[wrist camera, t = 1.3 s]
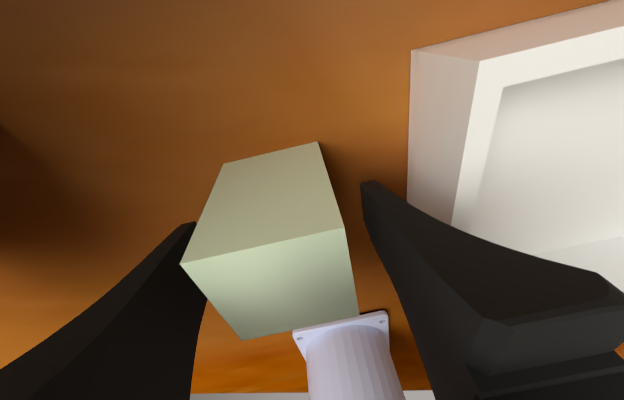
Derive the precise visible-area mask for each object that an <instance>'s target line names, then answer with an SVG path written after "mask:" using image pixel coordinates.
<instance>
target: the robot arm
mask: <svg viewBox="0 0 624 400" xmlns="http://www.w3.org/2000/svg"><path fill="white" fill-rule="evenodd" d="M360 189H361V199H362V208H363V218H364V222H365V225H366V228H367V230H368V233H369V236H370V239H371V241H372V243H373V245H374V247H375V249H376V251H377V253H378V255H379V257H380V259H381V261H382V263H383V265H384V267H385V269H386V271H387V273H388V275H389V277H390V279H391V281H392V283H393V285H394V287H395V290H396V292H397V294H398V297H399V299H400V302H401V305H402V307H403V310H404V312H405V315H406V318H407V320H408V323H409V326H410V328H411V331H412V334H413V336H414V339H415V342H416V345H417V347H418V350H419V353H420V356H421V359H422V361H423V364H424V367H425V370H426V373H427V376H428V379H429V382H430V384H431V387H432V390H433V393H434V396H435V399H436V400H624V360H623V359H622V358H621V357H620V356H619V355H618V354H617V353H616V352H615V351H614V349H616V348H617V347H618V346H619V345H621V344H622V343H623V342H624V293H623V292H622V291H621V290H619V289H618V288H617V287H616V286H614V285H613V284H612V283H610V282H609V281H608V280H606V279H605V278H604V277H602V276H601V275H600V274H598V273H597V272H593V271H589V270H585V269H581V268H577V267H574V266H570V265H566V264H562V263H558V262H554V261H550V260H546V259H543V258H539V257H536V256H532V255H529V254H526V253H523V252H519V251H516V250H513V249H510V248H507V247H504V246H501V245H498V244H495V243H492V242H490V241H487V240H484V239H482V238H479V237H476V236H474V235H471V234H469V233H466V232H464V231H461V230H459V229H457V228H455V227H453V226H450V225H448V224H446V223H444V222H442V221H440V220H438V219H436V218H434V217H432V216H430V215H428V214H426V213H425V212H423V211H421V210H419V209H417V208H416V207H414V206H412V205H411V204H409V203H408V202H406V201H404V200H403V199H401V198H400V197H398V196H397V195H395V194H394V193H392V192H391V191H390V190H388V189H387V188H385V187H384V186H383V185H381V184H380V183H378V182H377V181H375V180H371V181H367V182H362V183H360ZM196 225H197V223H196V222H195V221H194V222H190V223H185V224H181V225H180V226H179V227H178V228H176V229H175V230H174V231H173V232H172V233H171V234H170V235H169V236H168V237H167V238H166V239H165V240H164V241H162V242H161V243H160V244H159V245H158V246H157V247H156V248H155V249H154V250H153V251H152V252H151V253H150V254H149V255H148V256H147V257H146V258H145V259H144V260H143V261H142V262H141V263H140V264H139V265H138V266H136V267H135V268H134V269H133V270H132V271H131V272H130V273H129V274H128V275H127V276H126V277H124V278H123V279H122V280H121V281H120V282H119V283H118V284H117V285H116V286H114V287H113V288H112V289H111V290H110V291H109V292H107V293H106V294H105V295H104V296H103V297H101V298H100V299H99V300H98V301H96V302H95V303H94V304H93V305H91V306H90V307H89V308H88V309H86V310H85V311H84V312H83V313H81V314H80V315H79V316H77V317H76V318H74V319H73V320H72V321H70V322H69V323H68V324H66V325H65V326H63V327H62V328H61V329H59V330H58V331H57V332H55V333H54V334H52V335H51V336H50V337H48V338H47V339H46V340H44V341H43V342H41V343H40V344H38V345H37V346H35V347H34V348H32V349H31V350H29V351H28V352H26V353H25V354H23V355H22V356H20V357H19V358H17V359H16V360H14V361H13V362H11V363H9V364H8V365H6V366H5V367H3V368H2V369H0V400H190V390H191V381H192V373H193V365H194V358H195V352H196V345H197V339H198V334H199V329H200V325H201V321H202V317H203V313H204V310H205V306H206V302H207V297H206V296H205V295H204V294H203V292H202V291H201V290H200V289H199V287H198V286H197V285H196V284H195V282H194V281H193V280H192V279H191V278H190V276H189V275H188V274H187V273H186V271H185V270H184V269H183V268H182V266H181V265H180V262H181V260H182V257H183V255H184V253H185V251H186V248H187V246H188V244H189V241H190V239H191V237H192V235H193V232H194V230H195V228H196ZM292 336H293V338H294V340H295V342H296V344H297V346H298V348H299V350H300V351H301V353H302V355H303V357H304V359H305V361H306V363H307V377H308V390H309V400H406V399H405V396H404V394H403V390H402V387H401V384H400V381H399V378H398V375H397V372H396V370H395V367H394V364H393V361H392V358H391V355H390V348H389V324H388V315H387V312H386V311H377V312H372V313H367V314H363V315H360V316H358V317H353V318H348V319H343V320H339V321H334V322H329V323H324V324H319V325H315V326H310V327H305V328H300V329H296V330H293V331H292Z"/></svg>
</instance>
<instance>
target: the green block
mask: <svg viewBox="0 0 624 400" xmlns="http://www.w3.org/2000/svg"><path fill="white" fill-rule="evenodd" d="M180 265H181V266H182V268H183V269H184V270H185V271H186V273H187V274H188V275H189V276H190V278H191V279H192V280H193V281H194V282H195V284H196V285H197V286H198V287H199V289H200V290H201V291H202V292H203V294H204V295H205V296H206V297H207V298H208V300H209V301H210V302H211V303H212V305H213V306H214V307H215V308H216V310H217V311H218V312H219V313H220V314H221V316H222V317H223V318H224V319H225V321H226V322H227V323H228V324H229V325H230V327H231V328H232V329H233V330H234V332H235V333H236V334H237V335H238V337H239V338H240V339H241V340H242V341H243V340H248V339H252V338H257V337H262V336H267V335H272V334H276V333H281V332H286V331H291V330H296V329H300V328H305V327H310V326H315V325H319V324H324V323H329V322H334V321H339V320H343V319H348V318H353V317H358V316H360V314H359V308H358V302H357V297H356V291H355V285H354V279H353V274H352V268H351V262H350V256H349V250H348V245H347V239H346V233H345V227H344V224H343V221H342V218H341V215H340V211H339V208H338V205H337V202H336V199H335V196H334V192H333V189H332V186H331V183H330V180H329V176H328V173H327V170H326V167H325V164H324V161H323V157H322V154H321V151H320V148H319V145H318V142H313V143H308V144H304V145H300V146H296V147H292V148H288V149H283V150H279V151H275V152H271V153H267V154H262V155H258V156H254V157H250V158H246V159H241V160H237V161H233V162H229V163H225V164H223V166H222V168H221V171H220V173H219V175H218V178H217V180H216V182H215V184H214V187H213V189H212V191H211V194H210V196H209V198H208V200H207V203H206V205H205V207H204V210H203V212H202V214H201V216H200V219H199V221H198V223H197V225H196V228H195V230H194V232H193V235H192V237H191V239H190V241H189V244H188V246H187V248H186V251H185V253H184V255H183V257H182V260H181V262H180Z"/></svg>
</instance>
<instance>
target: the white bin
mask: <svg viewBox="0 0 624 400" xmlns="http://www.w3.org/2000/svg"><path fill="white" fill-rule="evenodd" d="M407 202H408V203H409V204H411V205H412V206H414V207H416V208H417V209H419V210H421V211H423V212H425V213H426V214H428V215H430V216H432V217H434V218H436V219H438V220H440V221H442V222H444V223H446V224H448V225H450V226H453V227H455V228H457V229H459V230H461V231H464V232H466V233H469V234H471V235H474V236H476V237H479V238H482V239H484V240H487V241H490V242H492V243H495V244H498V245H501V246H504V247H507V248H510V249H513V250H516V251H519V252H523V253H526V254H529V255H532V256H536V257H539V258H543V259H546V260H550V261H554V262H558V263H562V264H566V265H570V266H574V267H577V268H581V269H585V270H589V271H593V272H597V273H598V274H600V275H601V276H602V277H604V278H605V279H606V280H608V281H609V282H610V283H612V284H613V285H614V286H616V287H617V288H618V289H619V290H621V291H622V292H623V293H624V0H611V1H607V2H603V3H599V4H595V5H591V6H587V7H583V8H579V9H575V10H571V11H567V12H563V13H559V14H555V15H550V16H546V17H542V18H538V19H534V20H530V21H526V22H522V23H518V24H514V25H510V26H506V27H502V28H498V29H494V30H490V31H486V32H482V33H478V34H474V35H470V36H466V37H462V38H458V39H454V40H450V41H446V42H442V43H438V44H434V45H430V46H426V47H422V48H418V49H414V50H411V71H410V105H409V140H408V174H407Z"/></svg>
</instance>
